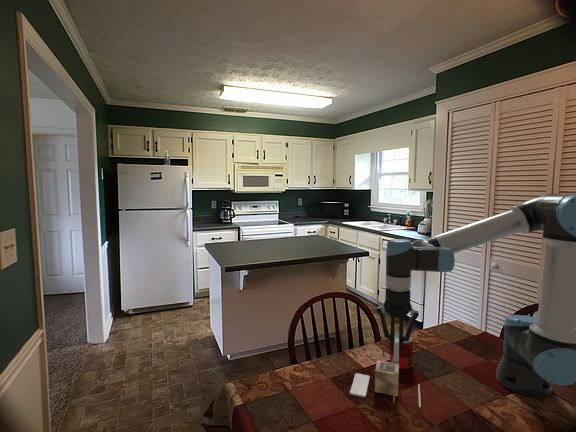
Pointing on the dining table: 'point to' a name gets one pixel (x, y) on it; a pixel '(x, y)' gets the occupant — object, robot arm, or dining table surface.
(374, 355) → the dining table surface
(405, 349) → the canned food
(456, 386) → the dining table surface
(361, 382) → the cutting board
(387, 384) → the tan cube
